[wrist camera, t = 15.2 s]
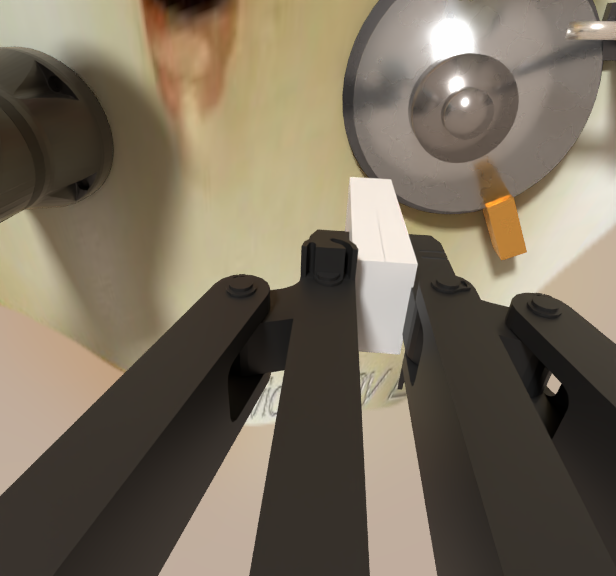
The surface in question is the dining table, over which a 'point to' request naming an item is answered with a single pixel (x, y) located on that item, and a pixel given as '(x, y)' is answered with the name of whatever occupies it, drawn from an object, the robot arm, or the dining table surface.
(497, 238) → the turntable
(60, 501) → the robot arm
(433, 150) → the cover
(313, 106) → the dining table surface
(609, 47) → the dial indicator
